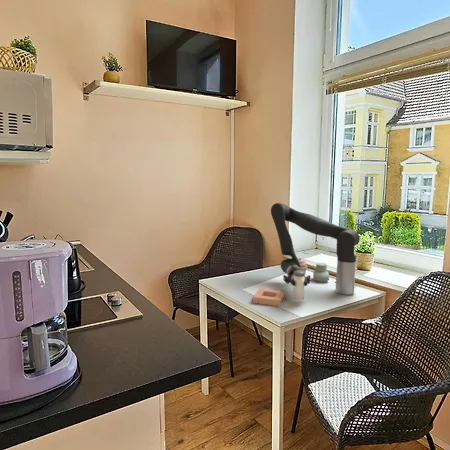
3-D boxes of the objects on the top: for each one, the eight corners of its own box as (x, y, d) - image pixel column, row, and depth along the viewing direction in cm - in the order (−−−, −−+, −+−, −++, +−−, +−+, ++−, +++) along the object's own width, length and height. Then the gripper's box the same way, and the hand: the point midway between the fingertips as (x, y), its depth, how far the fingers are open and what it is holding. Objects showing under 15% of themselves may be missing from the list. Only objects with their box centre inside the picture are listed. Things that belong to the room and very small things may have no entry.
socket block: (284, 296, 187) (284, 291, 186) (280, 306, 175) (280, 300, 174) (258, 294, 191) (259, 288, 190) (253, 303, 178) (253, 297, 178)
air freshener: (312, 277, 220) (313, 261, 218) (327, 278, 218) (328, 261, 217) (313, 283, 209) (314, 266, 207) (328, 284, 208) (329, 266, 206)
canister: (304, 296, 180) (305, 270, 177) (303, 300, 175) (304, 273, 173) (293, 295, 181) (294, 270, 179) (292, 299, 176) (293, 273, 174)
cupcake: (289, 271, 230) (290, 256, 229) (303, 270, 232) (304, 255, 231) (296, 276, 221) (296, 260, 220) (310, 275, 224) (311, 259, 222)
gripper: (280, 266, 190) (285, 276, 174) (308, 266, 190) (315, 276, 173) (280, 280, 192) (284, 291, 175) (308, 280, 191) (315, 291, 174)
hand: (300, 284), depth 174 cm, fingers closed on canister, 4 cm apart
